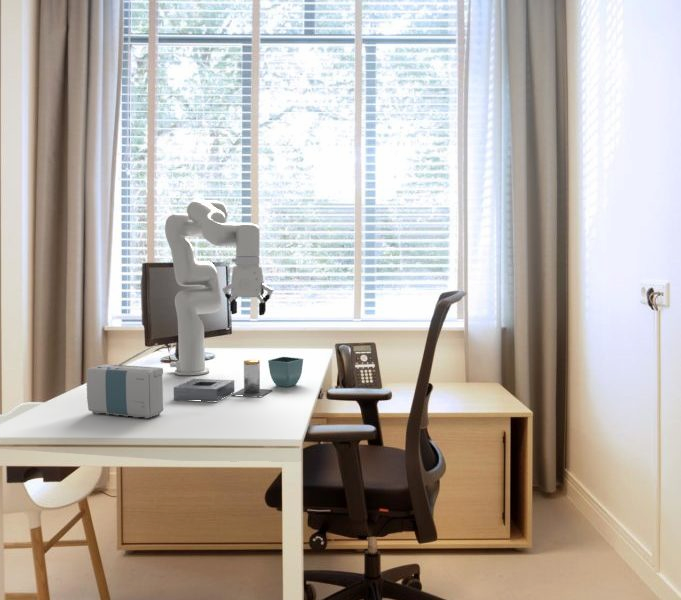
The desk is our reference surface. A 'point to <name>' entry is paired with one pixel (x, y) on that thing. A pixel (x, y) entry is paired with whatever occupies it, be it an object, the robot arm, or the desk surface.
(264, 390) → the mat
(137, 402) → the grey teal equipment box
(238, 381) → the desk surface
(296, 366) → the flower pot
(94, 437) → the desk surface
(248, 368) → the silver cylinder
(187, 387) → the housing
